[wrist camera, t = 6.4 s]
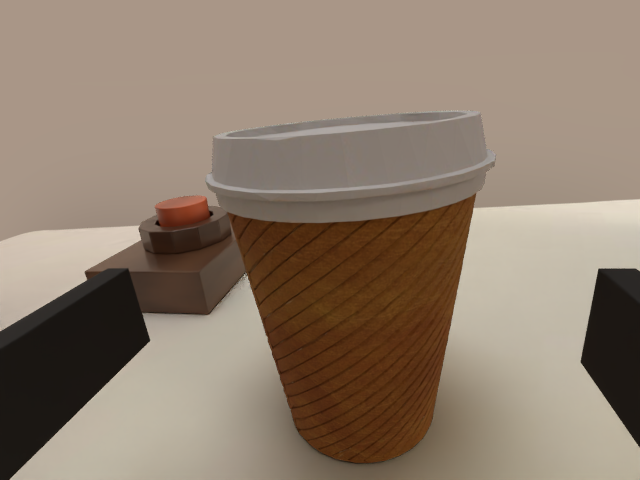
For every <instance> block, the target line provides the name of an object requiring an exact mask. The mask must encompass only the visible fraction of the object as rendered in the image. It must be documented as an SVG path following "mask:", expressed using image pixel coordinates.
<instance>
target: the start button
mask: <svg viewBox="0 0 640 480" xmlns="http://www.w3.org/2000/svg"><path fill="white" fill-rule="evenodd" d="M155 209H156V213H157V217H158V221H159V225H160V227H176V226H182V225H188V224H193V223H196V222H199V221H203V220H206V219H208V218H209V217H210V213H209V208H208V204H207V198H206V197H204V196H185V197H178V198H173V199H169V200H166V201H163V202H160V203H158V204H156V206H155Z"/></svg>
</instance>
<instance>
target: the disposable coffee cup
mask: <svg viewBox="0 0 640 480" xmlns="http://www.w3.org/2000/svg"><path fill="white" fill-rule="evenodd" d="M495 159H496V155H495V154H494V153H493V152H492V151H491V150H488V149H486V144H485V138H484V132H483V125H482V119H481V113H480V112H476V111H432V112H415V113H397V114H385V115H373V116H360V117H347V118H337V119H327V120H317V121H307V122H299V123H289V124H280V125H273V126H265V127H258V128H251V129H244V130H237V131H232V132H227V133H222V134H219V135H216V136H214V137H213V156H212V172H211V173H209V174H208V175H207V176H206V180H205V182H206V184H207V186H208V188H209V189H210V190H211V191H212V192H214V193H216V196H217V199H218V202H219V206H220V207H222V208H223V209H224V210H225V211H226V212H227V214H228V216H229V219H230V223H231V226H232V229H233V232H234V235H235V238H236V241H237V244H238V247H239V250H240V254H241V257H242V260H243V263H244V265H245V269H246V273H247V276H248V279H249V281H250V285H251V289H252V292H253V295H254V298H255V301H256V304H257V307H258V310H259V313H260V316H261V319H262V323H263V326H264V329H265V333H266V336H267V337H268V343H269V345H270V348H271V350H272V355H273V358H274V360H275V363H276V367H277V370H278V373H279V375H280V380H281V383H282V385H283V387H284V392H285V395H286V398H287V402H288V405H289V407H290V409H291V413H292V417H293V421H294V424H295V426H296V428H297V430H298V432H299V433H300V435H301V436H302V437H303V438H304V439H305V440H306V441H307V442H308V443H309V444H310V445H311V446H312V447H314V448H315V449H317V450H318V451H319V452H321V453H323V454H326V455H328V456H330V457H332V458H335V459H339V460H344V461H349V462H354V463H373V462H380V461H385V460H388V459H391V458H394V457H397V456H400V455H402V454H403V453H405V452H407V451H408V450H410V449H412V448H413V447H414V446H415V445H416V444H417V443H418V442H419V441H420V440H422V439H423V437H424V435H425V434H426V432H427V430H428V429H429V427H430V425H431V422H432V418H433V412H434V406H435V401H436V396H437V391H438V386H439V381H440V376H441V371H442V366H443V360H444V355H445V350H446V346H447V341H448V335H449V330H450V326H451V320H452V315H453V309H454V304H455V300H456V295H457V289H458V284H459V279H460V275H461V270H462V265H463V258H464V254H465V249H466V243H467V238H468V234H469V227H470V223H471V218H472V214H473V207H474V202H475V197H476V193H477V192H478V191H480V190H481V189H482V187H483V185H484V182H485V176H486V172H487V171H488V170H490V169H491V168H492V167H494V166H495Z"/></svg>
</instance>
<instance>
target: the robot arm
mask: <svg viewBox="0 0 640 480" xmlns="http://www.w3.org/2000/svg"><path fill="white" fill-rule="evenodd" d="M149 341H150V338H149V335H148V332H147V328H146V325H145V322H144V318H143V315H142V312H141V308H140V305H139V302H138V299H137V295H136V292H135V289H134V285H133V282H132V279H131V275H130V272H129V269H128V268H107V269H106V270H104V271H102V272H101V273H99V274H97V275H95V276H94V277H92V278H90V279H89V280H87V281H85V282H84V283H82V284H80V285H78V286H77V287H75V288H73V289H72V290H70V291H68V292H67V293H65V294H63V295H62V296H60V297H58V298H56V299H55V300H53V301H51V302H50V303H48V304H46V305H45V306H43V307H41V308H39V309H38V310H36V311H34V312H33V313H31V314H29V315H28V316H26V317H24V318H22V319H21V320H19V321H17V322H16V323H14V324H12V325H11V326H9V327H7V328H5V329H4V330H2V331H0V480H9V479H10V478H11V477H12V476H13V475H14V474H15V473H16V472H17V471H18V470H19V469H20V468H21V467H22V466H23V465H24V464H25V463H26V462H27V461H29V460H30V459H31V458H32V457H33V456H34V455H35V454H36V453H37V452H38V451H39V450H40V449H41V448H42V447H43V446H44V445H45V444H46V443H47V442H48V441H49V440H50V439H51V438H52V437H53V436H54V435H55V434H56V433H57V432H58V431H59V430H60V429H61V428H62V427H63V426H64V425H65V424H66V423H67V422H68V421H69V420H70V419H71V418H72V417H73V416H74V415H75V414H76V413H77V412H78V411H79V410H80V409H81V408H82V407H83V406H84V405H85V404H86V403H87V402H88V401H89V400H91V399H92V398H93V397H94V396H95V395H96V394H97V393H98V392H99V391H100V390H101V389H102V388H103V387H104V386H105V385H106V384H107V383H108V382H109V381H110V380H111V379H112V378H113V377H114V376H115V375H116V374H117V373H118V372H119V371H120V370H121V369H122V368H123V367H124V366H125V365H126V364H127V363H128V362H129V361H130V360H131V359H132V358H133V357H134V356H135V355H136V354H137V353H138V352H139V351H140V350H141V349H142V348H143V347H144V346H145V345H146V344H147V343H148V342H149ZM581 363H582V365H583V366H584V368H585V369H586V371H587V372H588V373H589V375H590V376H591V378H592V379H593V381H594V382H595V384H596V385H597V386H598V388H599V389H600V391H601V392H602V394H603V395H604V397H605V398H606V399H607V401H608V402H609V404H610V405H611V407H612V408H613V410H614V411H615V412H616V414H617V415H618V417H619V418H620V420H621V421H622V422H623V424H624V425H625V427H626V428H627V430H628V431H629V433H630V434H631V435H632V437H633V438H634V440H635V441H636V443H637V444H638V446H639V447H640V271H638V270H637V269H598V274H597V279H596V285H595V290H594V295H593V300H592V305H591V311H590V316H589V321H588V326H587V331H586V337H585V342H584V347H583V352H582V357H581Z"/></svg>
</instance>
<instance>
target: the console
mask: <svg viewBox="0 0 640 480" xmlns="http://www.w3.org/2000/svg"><path fill="white" fill-rule="evenodd" d="M208 208H209V213H210V217H209V218H208V219H206V220H203V221H199V222H196V223H193V224H188V225H182V226H176V227H160V225H159V221H158V217H157V215H156V216H153V217H152V218H149V219H147V220H145V221H143V222H142V223H141V225H140V227H139V232H140V236H141V241H139V242H137V243H135V244H134V245H132V246H130V247H128V248H126V249H125V250H123V251H121V252H119V253H117V254H115V255H114V256H112V257H110V258H108V259H106V260H105V261H103V262H101V263H99V264H97V265H96V266H94V267H92V268H90V269H88V270H87V271H85V275H86V278H87V280H89V279H90V278H92V277H94V276H95V275H97V274H99V273H101V272H102V271H104V270H106V269H107V268H128V269H129V272H130V275H131V279H132V282H133V285H134V289H135V292H136V295H137V299H138V302H139V305H140V308H141V312H166V313H195V314H209V313H210V311H211V310H212V309H213V308H214V307H215V306H216V305H217V304H218V302H219V301H220V300H221V299H222V298H223V297H224V296H225V294H226V293H227V292H228V291H229V290H230V289H231V288H232V287H233V285H234V284H235V283H236V282H237V281H238V280H239V279H240V277H241V276H242V275H243V274H244V273H245V272H246V269H245V265H244V263H243V260H242V257H241V254H240V250H239V247H238V244H237V241H236V238H235V235H234V232H233V229H232V226H231V223H230V219H229V216H228V214H227V212H226V211H225V210H224V209H223V208H222V207H216V206H208Z"/></svg>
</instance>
